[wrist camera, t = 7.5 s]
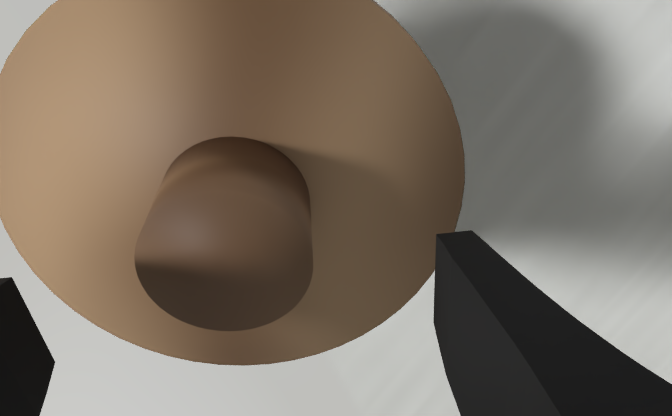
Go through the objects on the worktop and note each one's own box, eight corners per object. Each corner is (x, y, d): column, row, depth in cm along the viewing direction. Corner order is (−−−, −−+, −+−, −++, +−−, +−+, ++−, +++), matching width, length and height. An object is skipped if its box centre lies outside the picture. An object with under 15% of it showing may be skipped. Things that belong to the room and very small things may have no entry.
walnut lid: (470, -78, 10) (528, -63, 7) (449, 328, 15) (478, 414, 13) (-94, -28, 9) (-225, 5, 7) (87, 366, 15) (47, 460, 12)
